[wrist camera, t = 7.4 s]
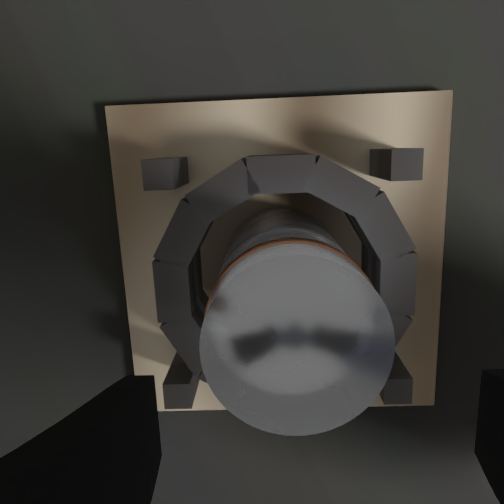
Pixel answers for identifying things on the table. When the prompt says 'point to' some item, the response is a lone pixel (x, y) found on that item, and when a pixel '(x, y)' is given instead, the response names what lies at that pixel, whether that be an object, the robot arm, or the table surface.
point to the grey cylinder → (294, 328)
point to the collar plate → (274, 196)
